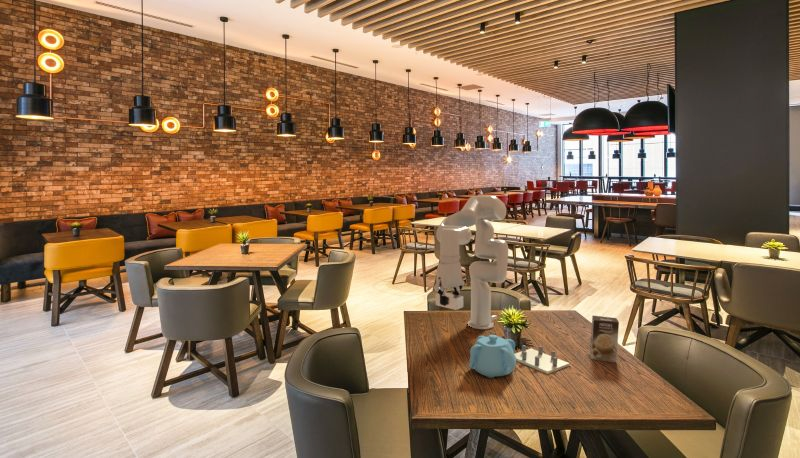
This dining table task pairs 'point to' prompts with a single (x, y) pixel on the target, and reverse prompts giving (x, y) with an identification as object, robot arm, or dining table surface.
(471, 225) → the robot arm
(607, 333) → the coffee box
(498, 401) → the dining table surface
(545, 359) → the pin tray
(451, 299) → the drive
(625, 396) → the dining table surface
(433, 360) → the dining table surface
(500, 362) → the decorative pot
